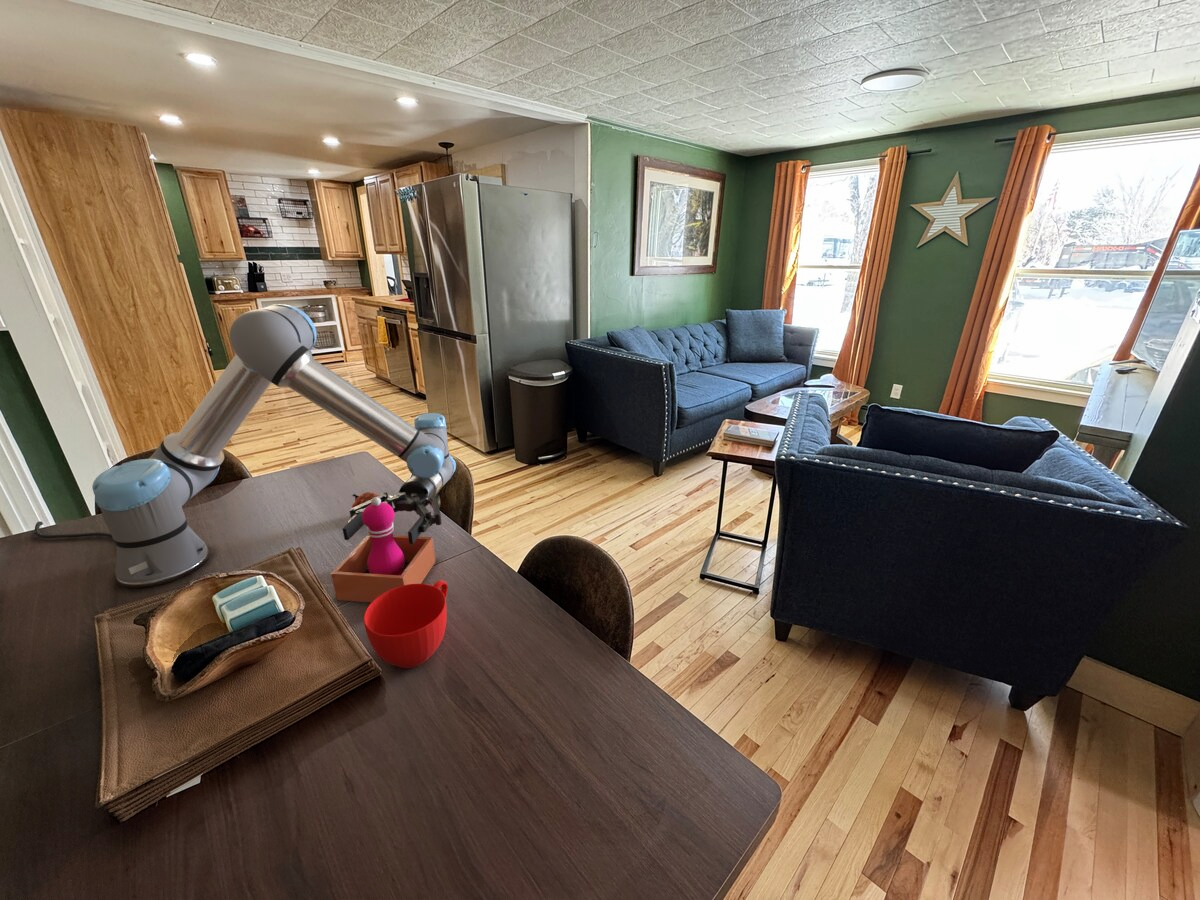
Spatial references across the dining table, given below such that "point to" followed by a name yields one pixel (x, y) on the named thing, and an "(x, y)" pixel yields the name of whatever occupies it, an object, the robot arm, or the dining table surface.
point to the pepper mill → (382, 539)
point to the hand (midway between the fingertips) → (377, 536)
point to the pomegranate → (363, 498)
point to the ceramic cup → (407, 623)
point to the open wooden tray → (368, 587)
